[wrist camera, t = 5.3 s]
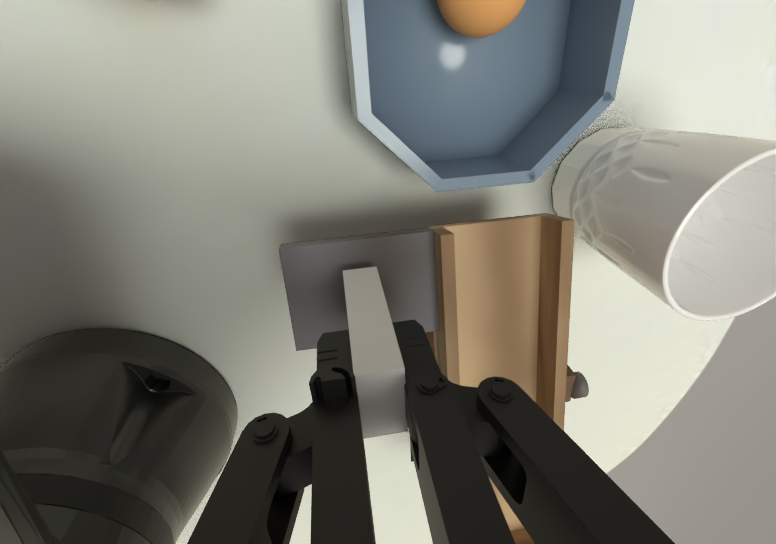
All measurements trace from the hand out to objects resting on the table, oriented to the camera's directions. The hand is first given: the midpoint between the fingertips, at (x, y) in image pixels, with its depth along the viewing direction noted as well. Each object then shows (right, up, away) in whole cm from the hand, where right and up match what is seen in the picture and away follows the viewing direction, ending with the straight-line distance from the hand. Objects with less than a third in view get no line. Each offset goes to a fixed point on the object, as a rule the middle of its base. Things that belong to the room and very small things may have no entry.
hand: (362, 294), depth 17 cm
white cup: (+15, +7, +8) cm, 18 cm away
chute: (+3, -6, +6) cm, 10 cm away
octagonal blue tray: (+5, +12, +3) cm, 14 cm away
